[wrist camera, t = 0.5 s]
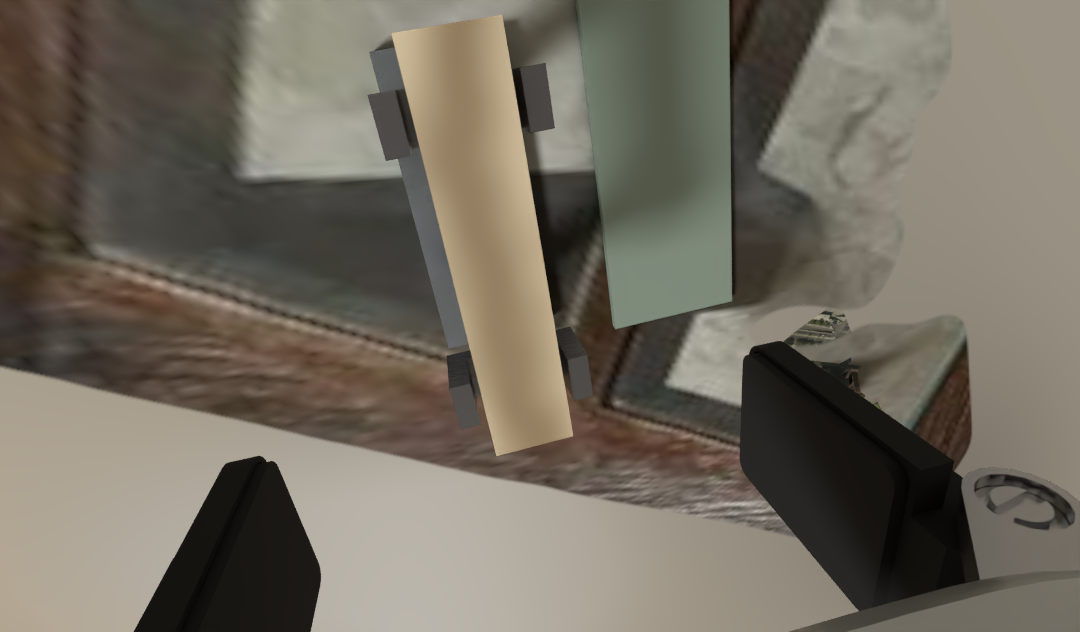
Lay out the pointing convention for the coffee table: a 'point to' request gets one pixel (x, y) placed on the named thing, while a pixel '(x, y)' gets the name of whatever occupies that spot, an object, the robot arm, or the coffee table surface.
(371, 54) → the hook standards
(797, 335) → the eiffel tower figurine
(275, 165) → the coffee table surface
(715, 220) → the rubber mat
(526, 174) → the maple rail
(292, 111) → the coffee table surface
